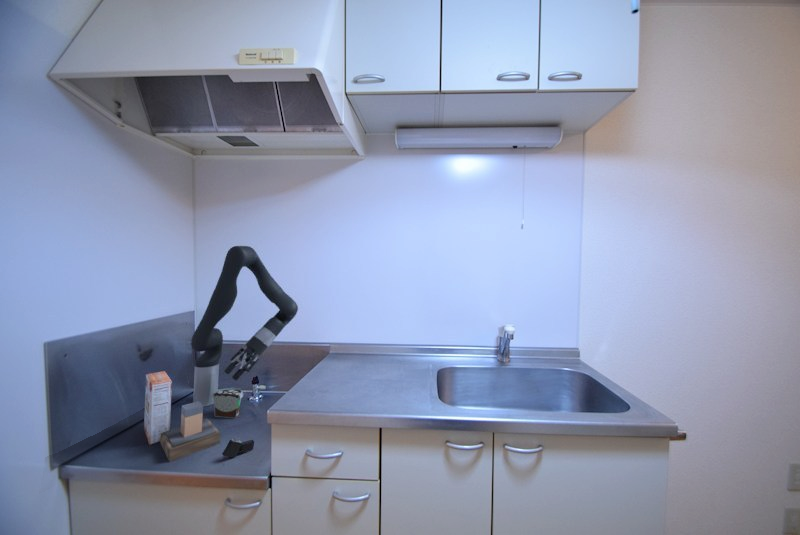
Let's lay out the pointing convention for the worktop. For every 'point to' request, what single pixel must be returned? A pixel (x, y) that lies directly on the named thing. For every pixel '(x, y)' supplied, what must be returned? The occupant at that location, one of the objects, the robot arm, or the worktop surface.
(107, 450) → the worktop surface
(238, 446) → the lighter
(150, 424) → the cracker box
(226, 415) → the food container
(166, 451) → the stand
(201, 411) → the block
